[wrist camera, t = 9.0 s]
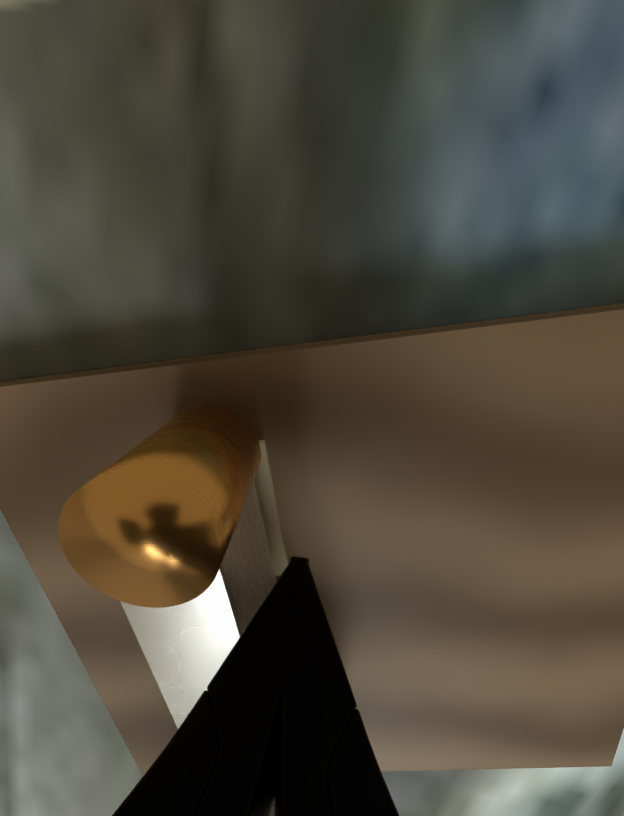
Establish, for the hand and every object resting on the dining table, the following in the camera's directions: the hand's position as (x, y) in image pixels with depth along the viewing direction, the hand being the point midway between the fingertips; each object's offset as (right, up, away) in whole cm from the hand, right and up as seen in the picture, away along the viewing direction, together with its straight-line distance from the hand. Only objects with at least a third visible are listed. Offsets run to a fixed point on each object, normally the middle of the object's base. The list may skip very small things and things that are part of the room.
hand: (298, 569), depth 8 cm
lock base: (+2, -3, +5) cm, 6 cm away
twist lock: (-2, -3, +3) cm, 5 cm away
